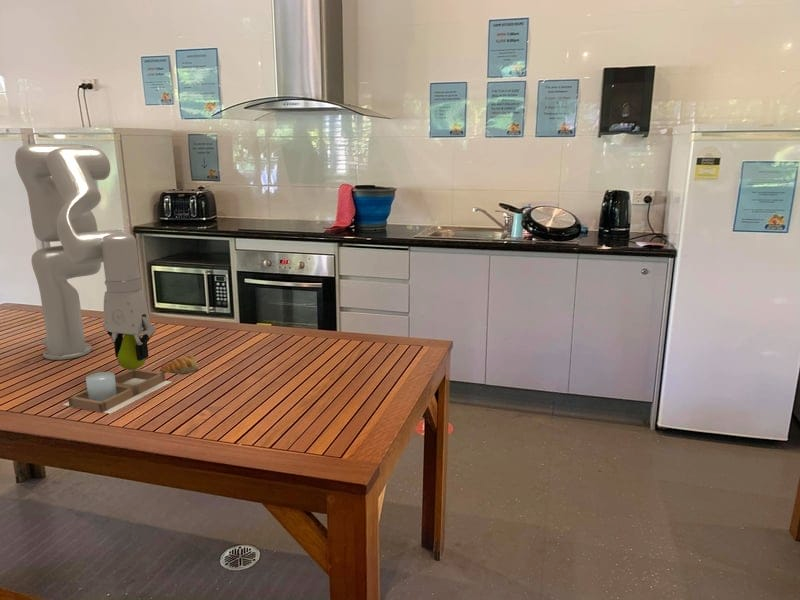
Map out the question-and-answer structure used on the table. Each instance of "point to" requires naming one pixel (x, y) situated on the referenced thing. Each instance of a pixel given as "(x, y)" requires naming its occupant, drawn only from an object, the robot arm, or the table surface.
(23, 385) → the table surface
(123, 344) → the fruit
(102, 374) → the pale blue rounded block
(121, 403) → the tray
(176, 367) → the pastry
